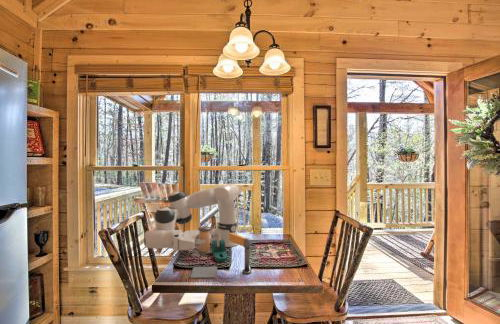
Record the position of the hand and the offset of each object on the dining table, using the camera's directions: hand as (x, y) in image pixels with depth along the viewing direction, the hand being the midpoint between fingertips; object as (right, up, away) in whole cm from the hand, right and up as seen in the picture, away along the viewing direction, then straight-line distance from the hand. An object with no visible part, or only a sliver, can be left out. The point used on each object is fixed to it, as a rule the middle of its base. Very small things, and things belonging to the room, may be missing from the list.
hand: (206, 238), depth 138 cm
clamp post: (+20, -17, +2) cm, 26 cm away
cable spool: (-1, -7, 0) cm, 7 cm away
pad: (-1, -17, 0) cm, 17 cm away
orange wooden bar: (+16, -4, +6) cm, 18 cm away
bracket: (+4, -17, +23) cm, 29 cm away
